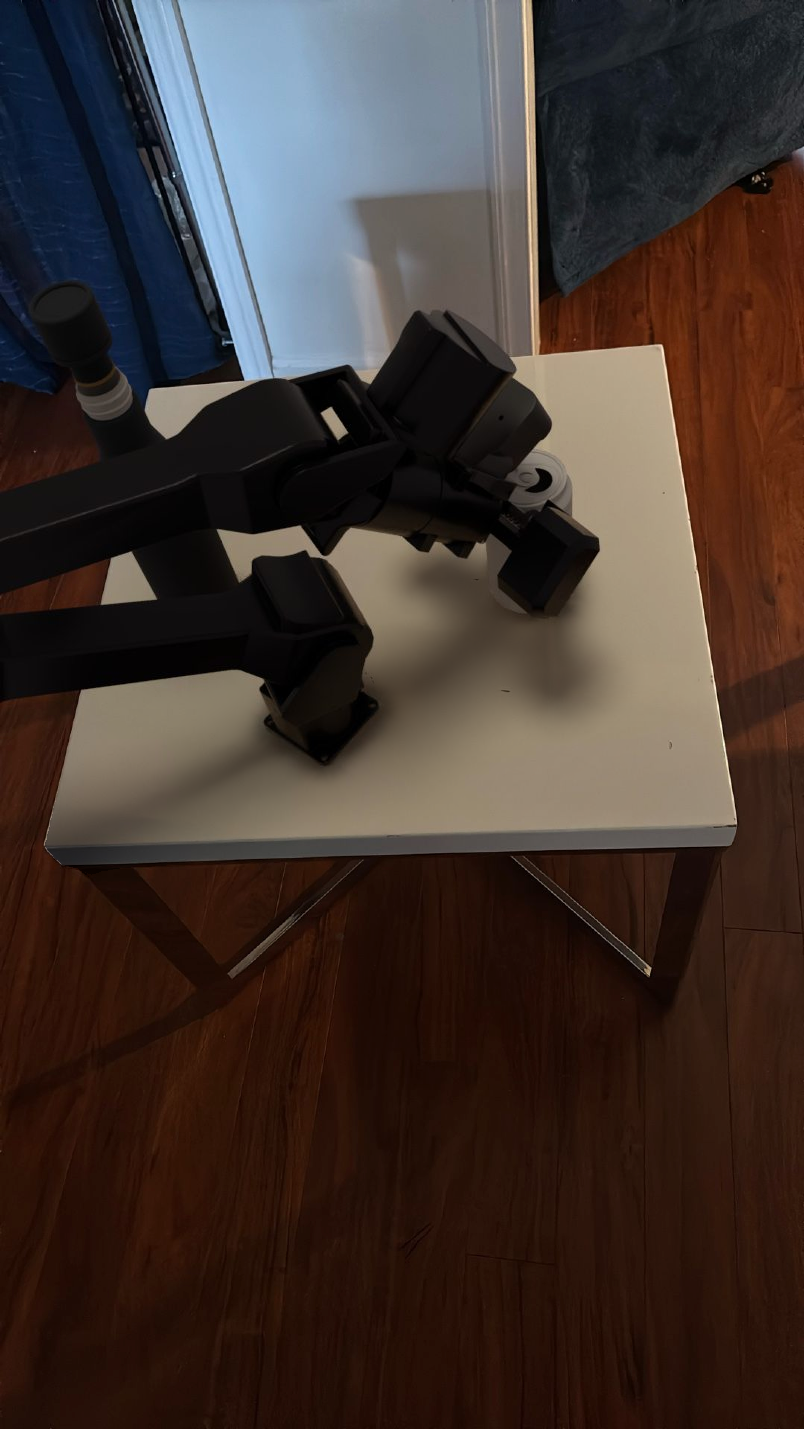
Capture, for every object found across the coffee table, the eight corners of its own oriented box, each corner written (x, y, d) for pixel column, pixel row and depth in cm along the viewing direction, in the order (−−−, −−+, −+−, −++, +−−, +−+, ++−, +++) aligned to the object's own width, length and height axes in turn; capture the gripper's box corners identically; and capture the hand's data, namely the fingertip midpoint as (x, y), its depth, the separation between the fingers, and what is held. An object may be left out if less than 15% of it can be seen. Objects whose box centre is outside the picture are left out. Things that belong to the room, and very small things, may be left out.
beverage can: (555, 628, 79) (555, 519, 69) (477, 607, 81) (465, 498, 71) (582, 567, 82) (585, 453, 72) (506, 548, 84) (499, 435, 74)
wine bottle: (242, 648, 83) (98, 334, 58) (165, 648, 84) (-9, 340, 59) (255, 584, 86) (125, 261, 61) (181, 585, 87) (24, 268, 62)
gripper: (579, 449, 57) (701, 490, 68) (375, 302, 66) (514, 361, 78) (478, 617, 61) (609, 628, 73) (301, 458, 70) (442, 491, 82)
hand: (542, 520), depth 76 cm, fingers closed on beverage can, 6 cm apart
